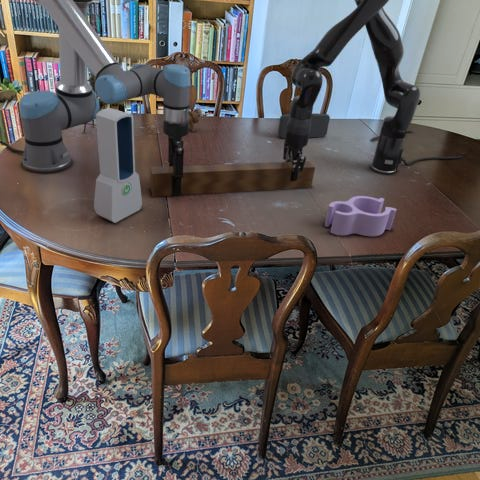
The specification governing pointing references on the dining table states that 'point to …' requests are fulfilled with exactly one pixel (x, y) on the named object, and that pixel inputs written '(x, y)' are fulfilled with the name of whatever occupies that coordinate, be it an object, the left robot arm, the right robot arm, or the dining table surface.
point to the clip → (359, 216)
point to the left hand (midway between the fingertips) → (174, 190)
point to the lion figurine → (194, 118)
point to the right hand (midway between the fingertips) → (290, 176)
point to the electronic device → (116, 166)
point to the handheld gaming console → (316, 130)
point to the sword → (378, 137)
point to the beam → (231, 178)
